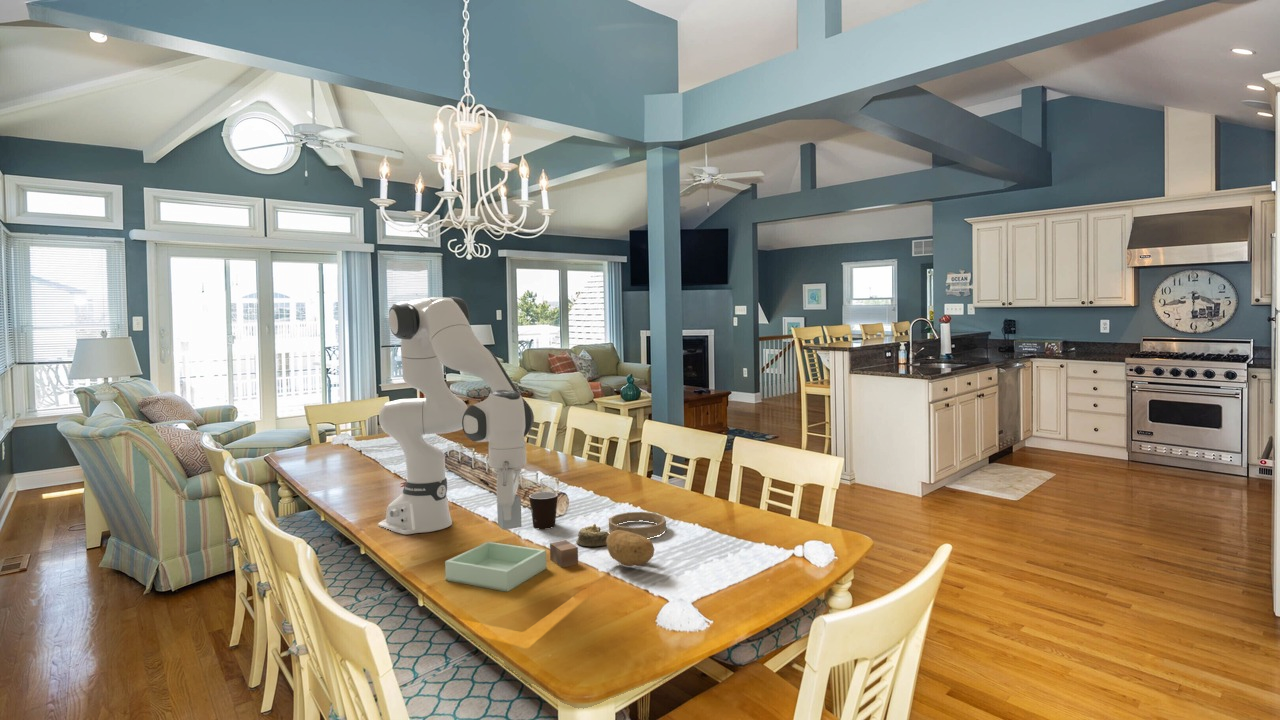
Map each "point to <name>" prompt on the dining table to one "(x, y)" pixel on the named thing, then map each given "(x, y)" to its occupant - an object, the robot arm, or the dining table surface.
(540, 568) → the serving tray
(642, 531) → the ring
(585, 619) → the dining table surface
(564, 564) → the walnut block
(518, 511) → the grey block
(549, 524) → the coffee mug
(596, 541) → the cake
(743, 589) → the dining table surface
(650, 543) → the potato
